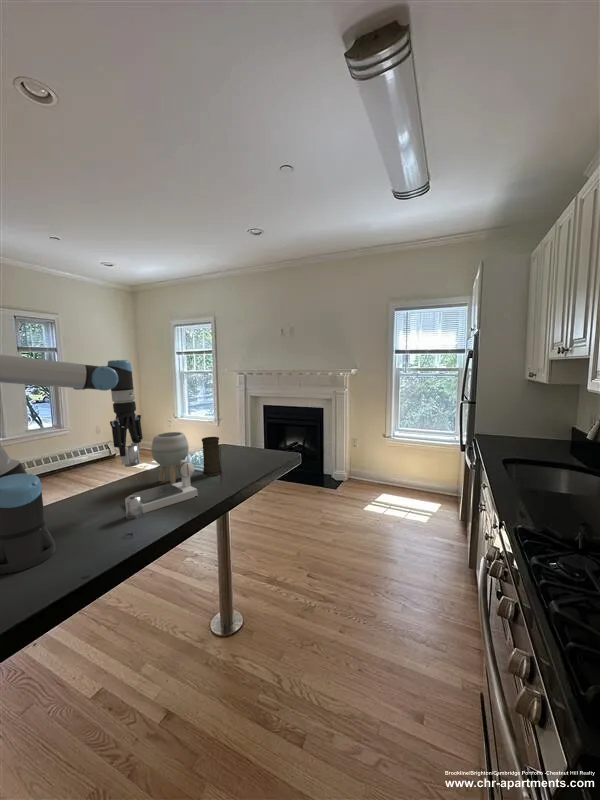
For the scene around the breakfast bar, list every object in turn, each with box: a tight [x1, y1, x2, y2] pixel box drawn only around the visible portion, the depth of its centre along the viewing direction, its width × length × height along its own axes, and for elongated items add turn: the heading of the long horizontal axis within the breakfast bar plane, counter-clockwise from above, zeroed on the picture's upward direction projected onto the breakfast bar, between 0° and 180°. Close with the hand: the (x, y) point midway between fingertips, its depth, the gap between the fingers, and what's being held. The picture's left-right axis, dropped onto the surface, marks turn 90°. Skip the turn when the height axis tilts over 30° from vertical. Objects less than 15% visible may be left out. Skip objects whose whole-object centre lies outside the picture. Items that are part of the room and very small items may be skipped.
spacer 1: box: [123, 444, 140, 468], centre depth 129 cm, size 5×5×7 cm
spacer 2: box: [124, 494, 143, 520], centre depth 123 cm, size 5×5×7 cm
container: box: [201, 436, 222, 477], centre depth 169 cm, size 9×9×18 cm
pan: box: [132, 482, 183, 504], centre depth 136 cm, size 15×12×1 cm
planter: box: [150, 431, 189, 484], centre depth 158 cm, size 16×16×22 cm
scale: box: [130, 459, 198, 514], centre depth 138 cm, size 24×14×14 cm, turn 135°
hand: (131, 461), depth 130 cm, fingers closed on spacer 1, 5 cm apart
